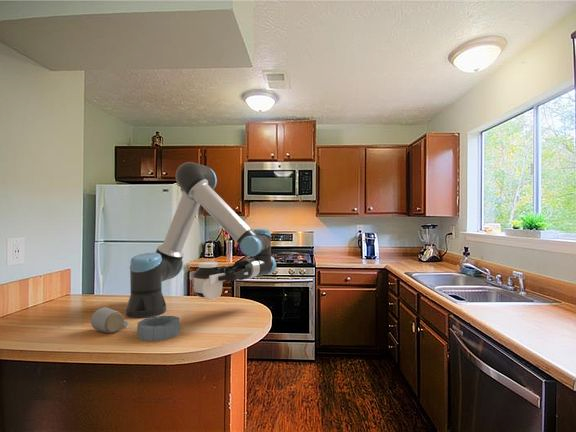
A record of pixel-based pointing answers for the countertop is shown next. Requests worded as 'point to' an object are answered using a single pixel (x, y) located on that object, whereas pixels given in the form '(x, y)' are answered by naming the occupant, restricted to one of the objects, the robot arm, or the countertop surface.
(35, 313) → the countertop surface
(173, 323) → the slate bowl
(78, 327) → the countertop surface
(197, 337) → the countertop surface
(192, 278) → the robot arm
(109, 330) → the ceramic mug
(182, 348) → the countertop surface
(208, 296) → the spread jar
